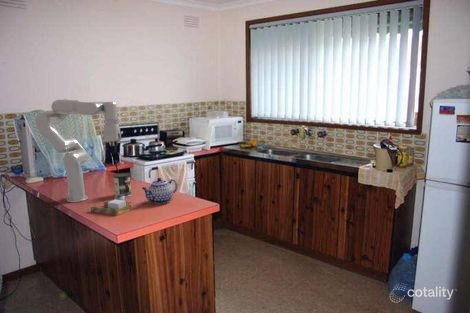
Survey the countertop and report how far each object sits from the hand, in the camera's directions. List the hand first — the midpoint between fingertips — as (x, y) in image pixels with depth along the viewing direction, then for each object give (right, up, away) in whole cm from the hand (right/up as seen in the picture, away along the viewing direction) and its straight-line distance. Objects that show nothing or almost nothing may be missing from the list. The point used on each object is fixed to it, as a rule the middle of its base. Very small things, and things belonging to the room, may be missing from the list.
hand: (114, 151), depth 231 cm
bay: (+3, -34, -14) cm, 37 cm away
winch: (+4, -32, -1) cm, 32 cm away
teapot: (+29, -31, +1) cm, 42 cm away
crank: (+6, -26, +1) cm, 27 cm away
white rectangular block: (+7, -34, -15) cm, 38 cm away
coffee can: (+1, -29, +17) cm, 33 cm away
